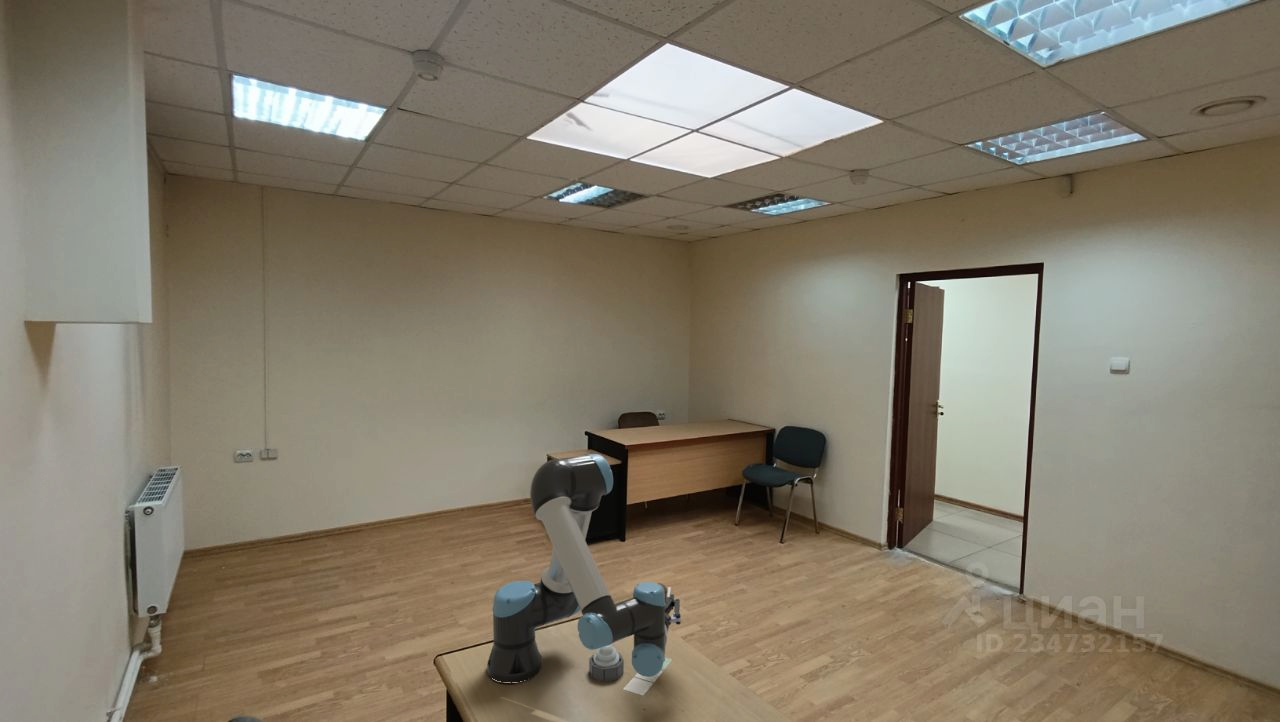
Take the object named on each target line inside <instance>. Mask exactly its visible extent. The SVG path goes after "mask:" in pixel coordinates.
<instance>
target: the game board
mask: <svg viewBox="0 0 1280 722" xmlns="http://www.w3.org/2000/svg"><path fill="white" fill-rule="evenodd" d="M672 661H673V659H671V658H668V657H665V661H664V663H663V667H662V669H661V671H660V672H659V673H658V674H656V675H654V676H651V677H646V676H642V675H640V674H638V673H637V672H636V674H635V675H634V677H633V678H632V679H630V681H629V682H628V683H626V685H625V686H624V688H622V690H623V691H624V690H625V691H627V692H630V693H633V694H635V695H640V696H644V695H645V694H646V693H647V692H648V690H650V688H651V687H652V686H653V685H654V683H656V681H657V680H658V678H659V677H660V675H662V673H663V672H664V671H665V669H666V668H667V667H668V666H669V665H670V663H671V662H672Z"/></svg>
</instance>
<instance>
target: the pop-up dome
mask: <svg viewBox="0 0 1280 722" xmlns="http://www.w3.org/2000/svg"><path fill="white" fill-rule="evenodd" d="M618 653H619V652H618ZM618 653H617V648H615V647H614V646H613V645H612V644H610V645H608V646H604V647H601V648H598V649H596V652H594V653H593V654H594V665H596V666H600V667H603V668H607V667H612V666H616V665H617V664H618V663H619V654H618Z"/></svg>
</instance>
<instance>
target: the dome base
mask: <svg viewBox="0 0 1280 722" xmlns="http://www.w3.org/2000/svg"><path fill="white" fill-rule="evenodd" d="M616 652H617V651H616ZM617 653H618V654H619V663H618V664H617V665H616V666H612V667H607V668H603V667H600V666H596V665H594V654H595V653H593V654H592V655H591V656H590V657H589V659H588V660H589V661H588V662H589V663H588V664H589V666H588V667H589V668H588V669H589V670H588V671H589V674H590V676H591V678H592V679H594V680H596V681H599V682H603V683H604V682H605V683H606V682H612V681H617V680H619V678H621V676H622V675H623V674H624V671H625V670H624V669H625V668H624V664H625V662H624V661H625V659H624V658H623V655H622V654H621V652H617Z"/></svg>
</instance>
